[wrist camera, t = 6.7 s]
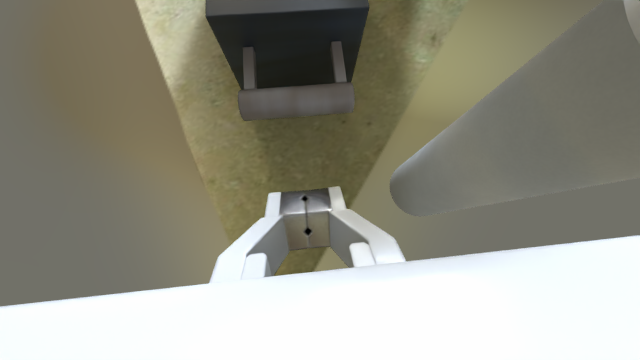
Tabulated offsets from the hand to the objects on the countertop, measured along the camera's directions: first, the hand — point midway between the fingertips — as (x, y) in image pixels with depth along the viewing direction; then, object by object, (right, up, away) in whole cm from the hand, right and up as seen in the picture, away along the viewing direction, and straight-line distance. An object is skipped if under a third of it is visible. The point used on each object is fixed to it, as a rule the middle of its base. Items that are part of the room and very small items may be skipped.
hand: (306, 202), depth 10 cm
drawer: (-1, +11, +8) cm, 13 cm away
